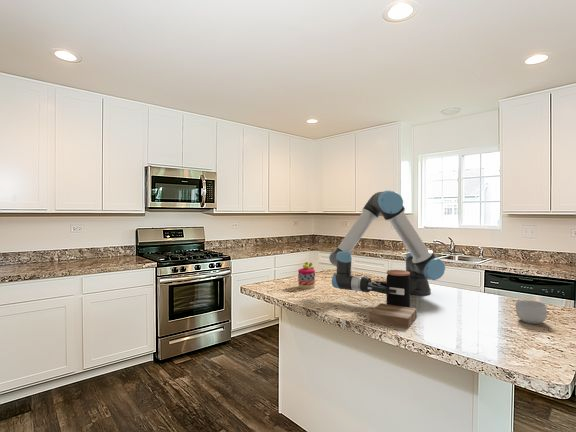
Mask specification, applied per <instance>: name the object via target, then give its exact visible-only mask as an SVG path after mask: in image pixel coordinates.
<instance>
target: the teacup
mask: <svg viewBox="0 0 576 432" xmlns="http://www.w3.org/2000/svg"><path fill="white" fill-rule="evenodd" d="M547 307H548V305H547V304H546V303H545V302H543V301H537V300H528V299H523V300H516V301H515V310H516V311H515V313H516V316H517V317H518V319H520V320H521V322H524V323H527V324H532V325H533V324H534V325H539V324H542V323H543V322H545V321H546V320H547V317H548V316H547V313H548V312H547V311H548V310H547Z"/></svg>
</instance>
